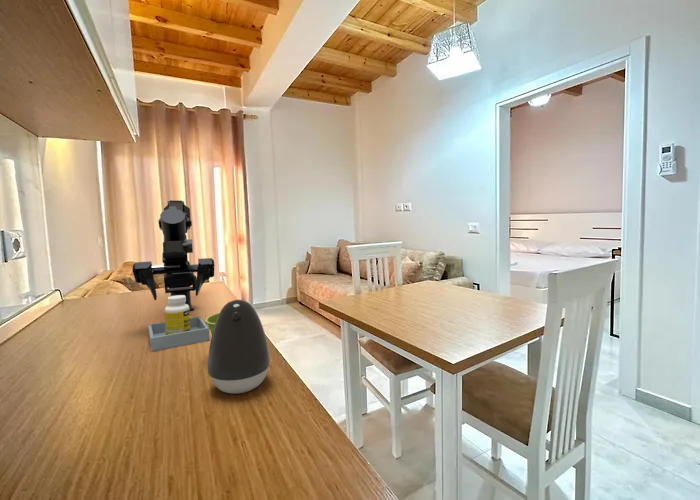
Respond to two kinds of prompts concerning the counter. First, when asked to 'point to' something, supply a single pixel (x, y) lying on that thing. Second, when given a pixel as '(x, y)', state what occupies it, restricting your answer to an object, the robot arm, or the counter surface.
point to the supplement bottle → (177, 315)
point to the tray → (177, 335)
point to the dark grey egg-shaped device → (238, 349)
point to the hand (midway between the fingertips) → (176, 297)
